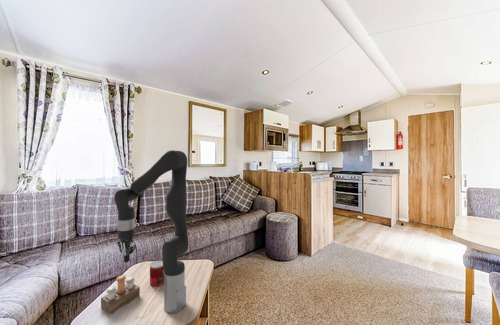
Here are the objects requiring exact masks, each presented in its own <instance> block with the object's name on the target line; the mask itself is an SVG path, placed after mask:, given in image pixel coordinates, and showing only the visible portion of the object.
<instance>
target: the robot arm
mask: <svg viewBox="0 0 500 325" xmlns="http://www.w3.org/2000/svg"><path fill="white" fill-rule="evenodd" d="M187 169H188V157H187V154H186V153H185V152H183V151H181V150H174V149H173V150H167V151H166V152H165V153H163V155H161V157H159V159H158V160H157V161H156V162H155V163H153V165H152V166H151V167H149V169H147V170H146V171H145V172H144V173H142V174H141V175H140V176H138V177H137V178H136V179H134V180H133V181H132V182H131V183H130V186H129V187H124V188H120V189H118V190H116V192H115V194H114V195H113V196H114V202H115V206H116V209H117V212H118V213H117V238H118V240H119V241H117V242H116V244H117V247H118V250H119V252H120V253H122V254H121V255H122V256H123V258H122V259H123V261H122V262H123V263H129V262H130V255H131V254H133V253H134V251H135V249H136V248H137V245H136V244H133V243H134V240H133V238H134V237H135V236H136V219H135V211H136V210H135V207H134V206H132V205H129V202H132V201H134V200H136V199H138V198H139V197H140V196H141V195H142V194H143V192H145V191H146V190H148V189H149V188H150V187H152V186H153V185H154V184H155V183H156V182H157V180H158V179H159V178H160V177H162V175H164V174H166V173H167V172H170V171H171V182H170V185H169V188H168V191H167V192H166V195H165V211H166V214H167V216H168V218H169V219H170V221H171V222H172V224H173V226H174V237H171V238H169V239H166V240H165V241H164V242H163V244H162V249H161V253H162V255H161V256H162V257H161V258H162V261H163V267H164V283H163V285H164V288H163V290H164V291H163V293H164V294H163V295H164V296H163V305H164V306H163V308H164V309H163V310H164V311H165V312H166V313H170V314H173V313H175V314H178V313H179V312H180V311H181V310H182V309H183V308H185V307H186V305H187V286H186V285H185V282H186V281H185V278H186V273H185V270H186V269H185V268H186V267H185V266H186V265H185V263H184V262H183V261H181V260H178V257H180V256H183V255H184V254H185V253H187V252H188V250H189V233H188V228H187Z"/></svg>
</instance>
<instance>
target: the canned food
mask: <svg viewBox="0 0 500 325" xmlns="http://www.w3.org/2000/svg"><path fill="white" fill-rule="evenodd" d="M149 285H150V286H151V287H153V288H156V287H160V286H162V285H164V267H163V260H155V261H153V262H151V263H150V264H149Z"/></svg>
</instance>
